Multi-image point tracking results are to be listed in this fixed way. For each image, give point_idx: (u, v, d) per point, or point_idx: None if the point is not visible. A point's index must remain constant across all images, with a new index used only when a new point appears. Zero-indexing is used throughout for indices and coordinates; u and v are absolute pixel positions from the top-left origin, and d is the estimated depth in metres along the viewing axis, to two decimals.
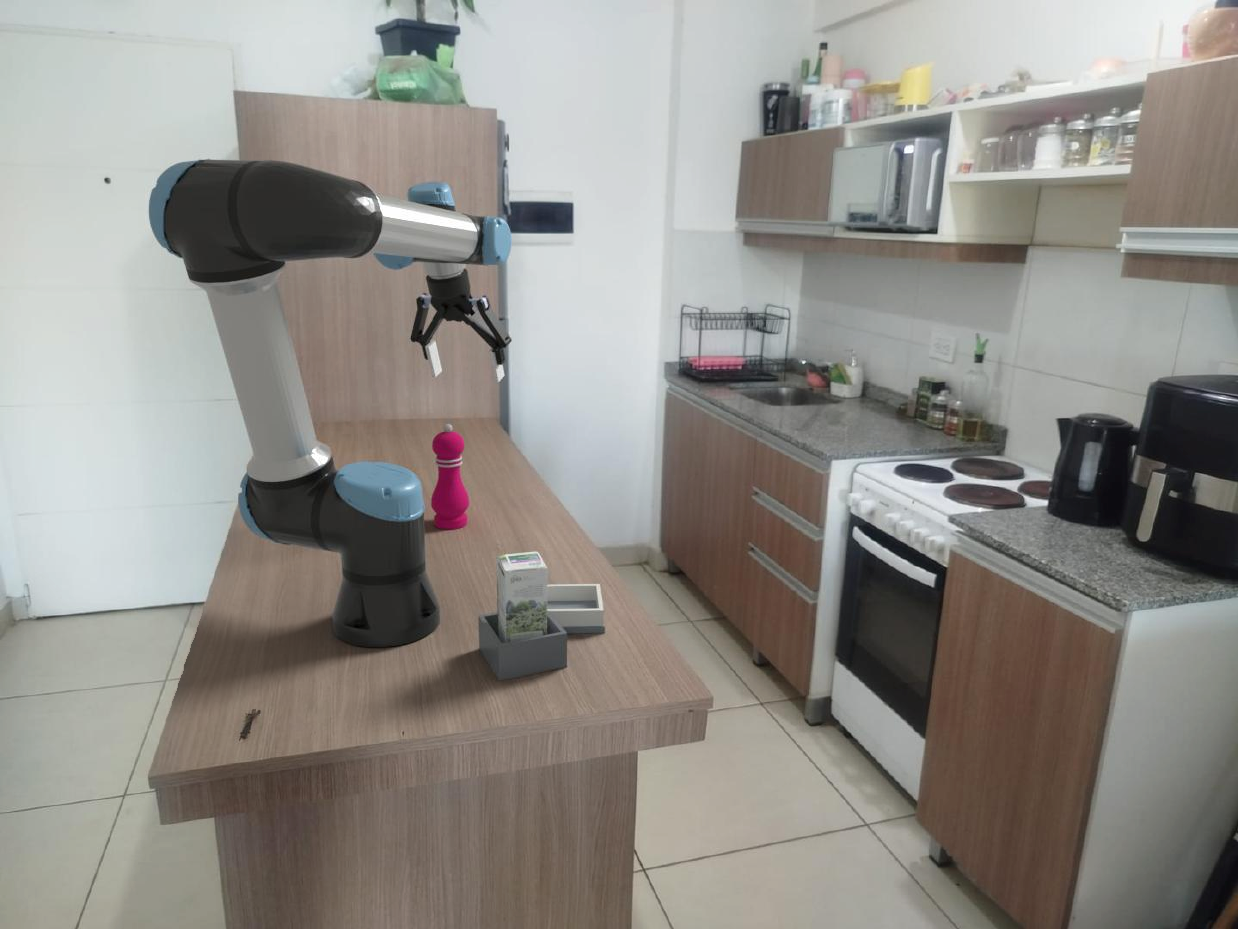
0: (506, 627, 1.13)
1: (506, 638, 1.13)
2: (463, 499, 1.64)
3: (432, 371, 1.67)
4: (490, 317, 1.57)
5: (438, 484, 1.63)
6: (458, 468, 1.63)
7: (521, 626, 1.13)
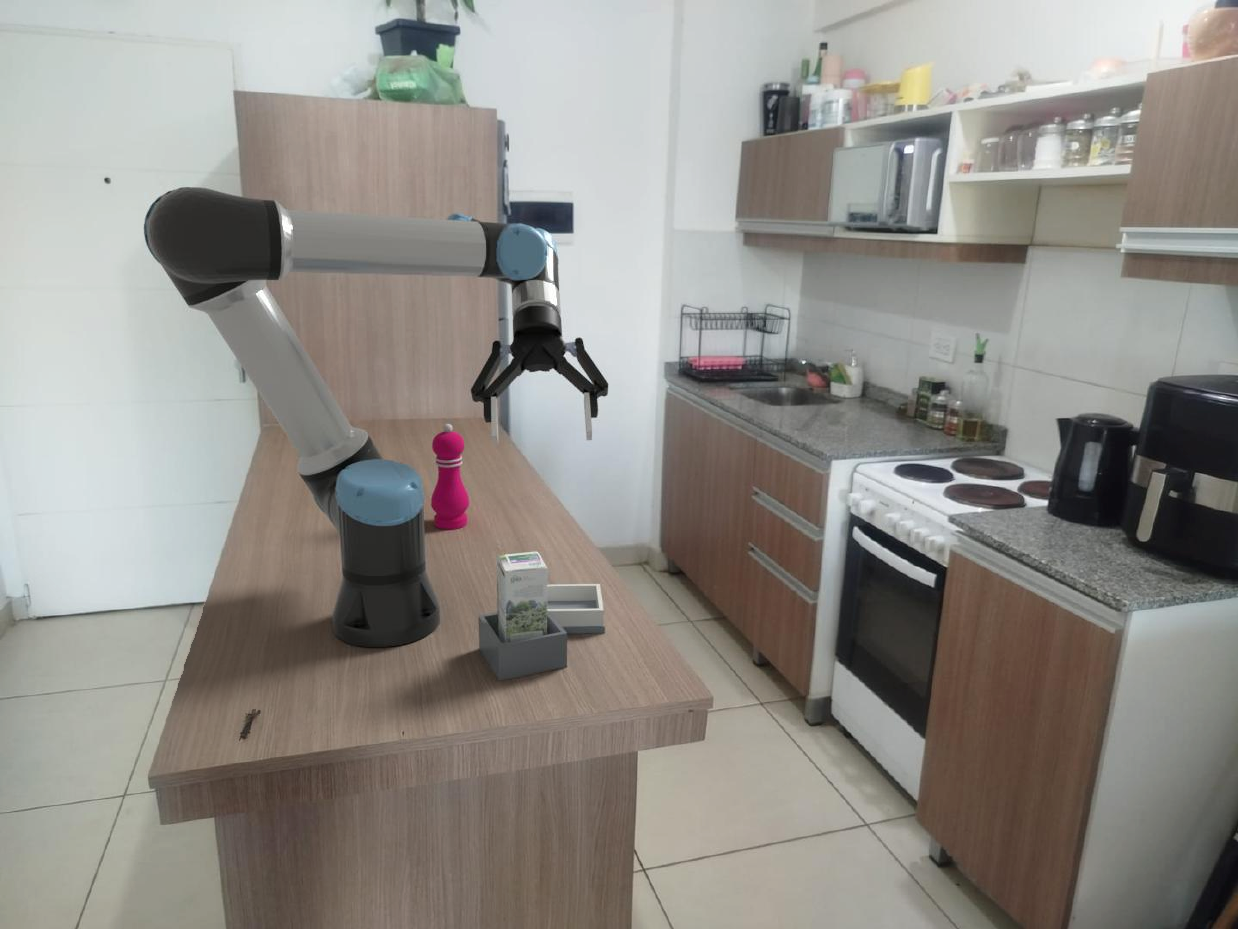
0: (506, 627, 1.13)
1: (506, 638, 1.13)
2: (463, 499, 1.64)
3: (494, 428, 1.23)
4: None
5: (438, 484, 1.63)
6: (458, 468, 1.63)
7: (521, 626, 1.13)
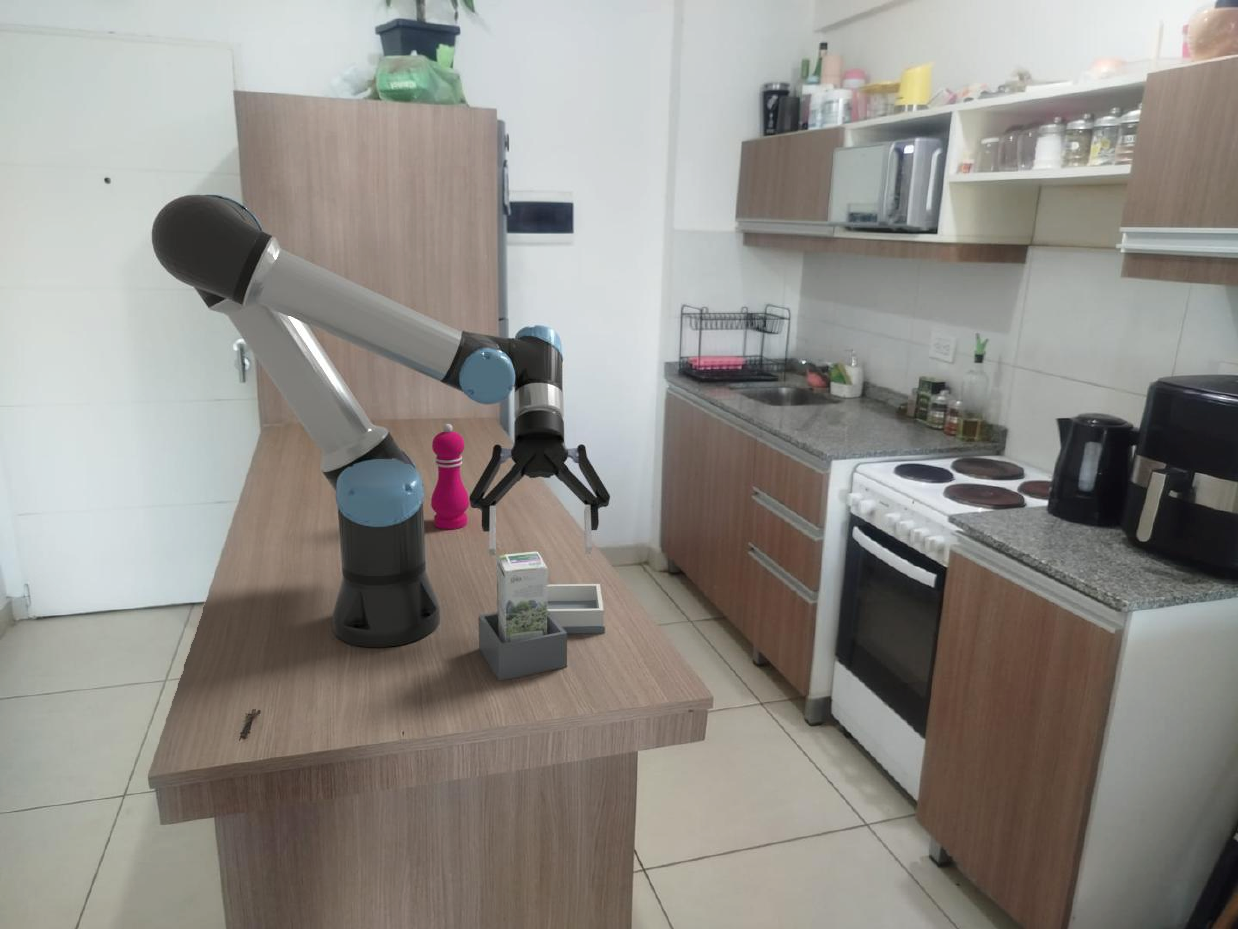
0: (506, 627, 1.13)
1: (506, 638, 1.13)
2: (463, 499, 1.64)
3: (491, 540, 1.21)
4: None
5: (438, 484, 1.63)
6: (458, 468, 1.63)
7: (521, 626, 1.13)
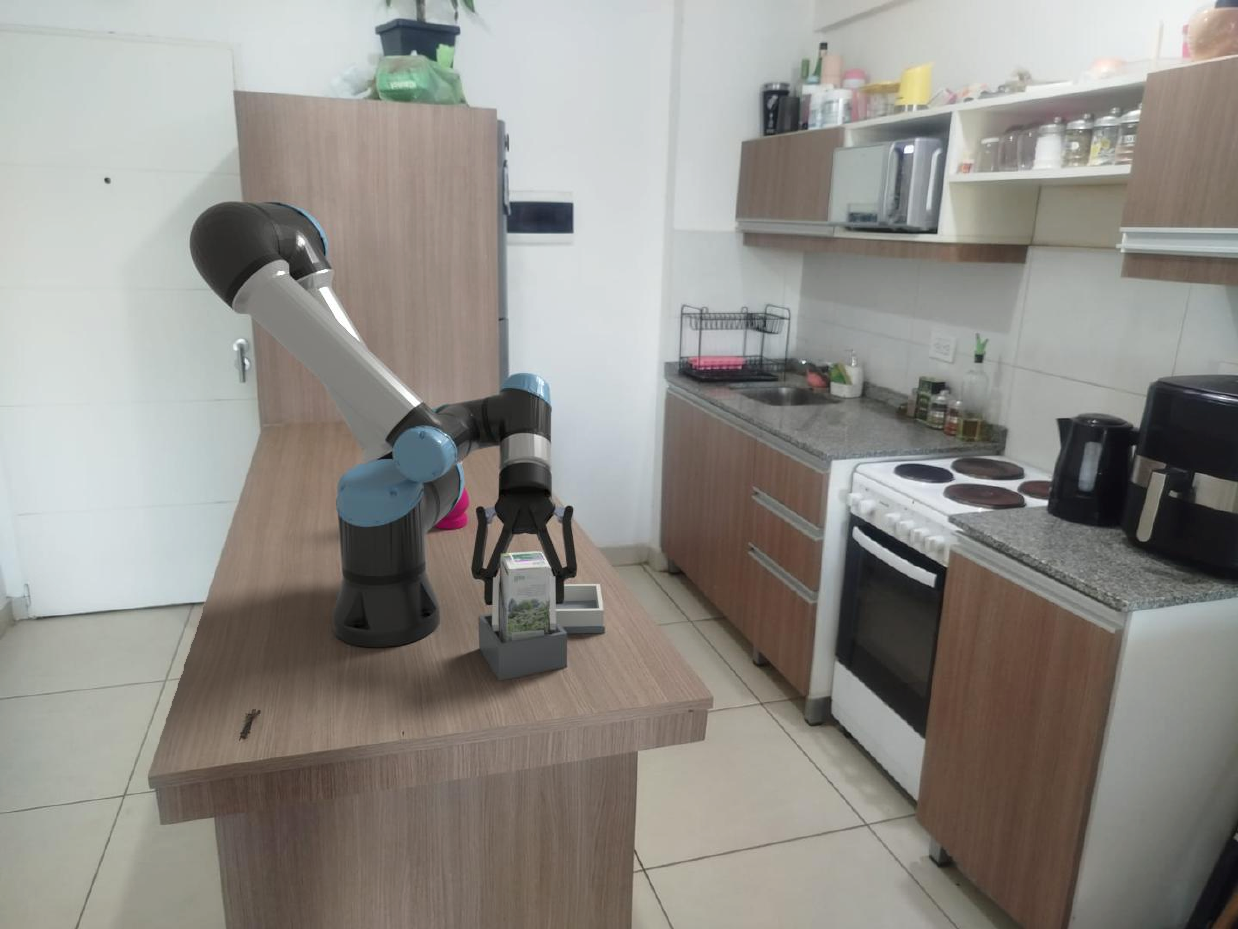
0: (508, 625, 1.13)
1: (507, 636, 1.13)
2: (463, 499, 1.64)
3: (494, 615, 1.12)
4: (571, 531, 1.19)
5: None
6: None
7: (523, 625, 1.13)
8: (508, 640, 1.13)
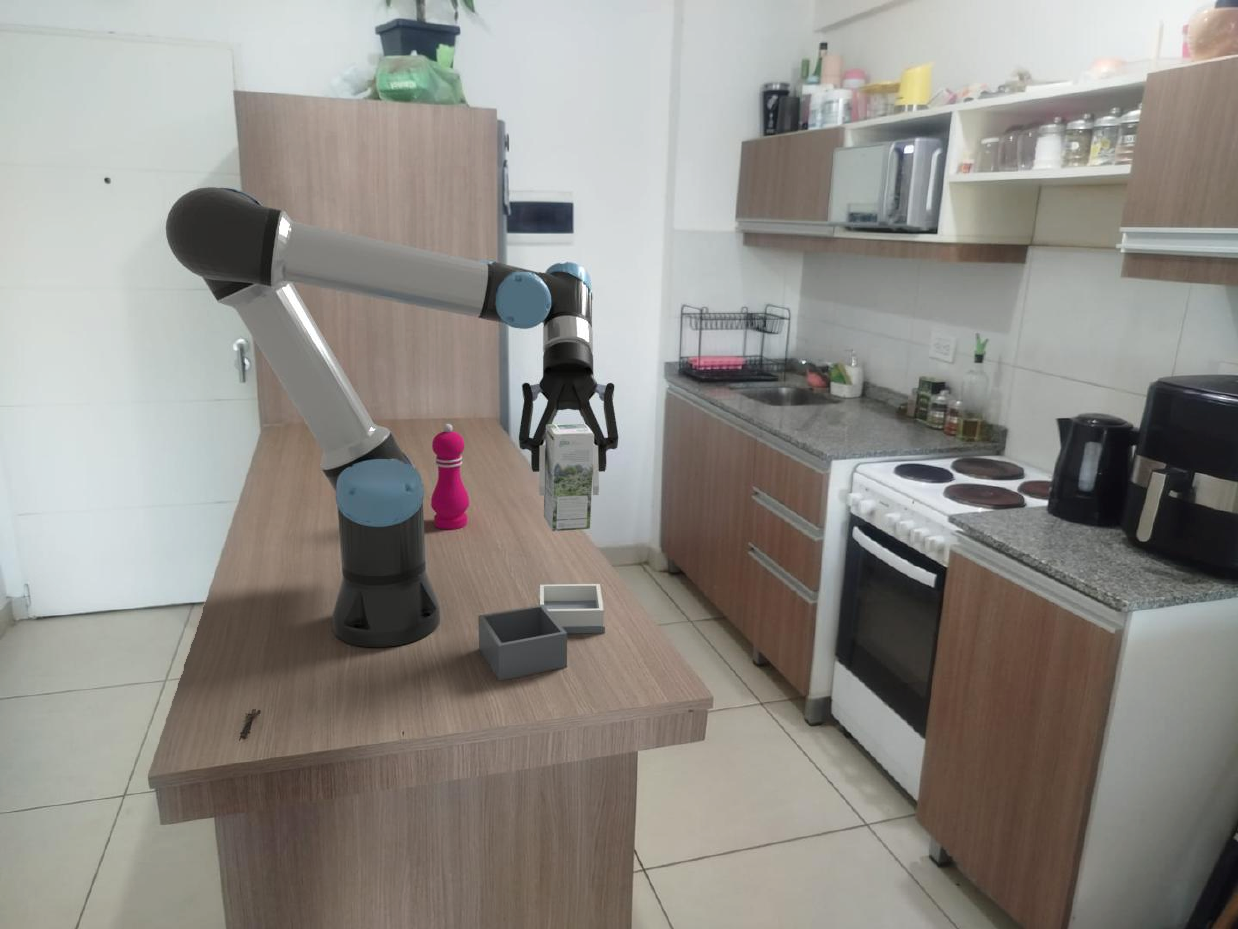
0: (554, 490, 1.19)
1: (553, 501, 1.20)
2: (463, 499, 1.64)
3: (541, 478, 1.18)
4: None
5: (438, 484, 1.63)
6: (458, 468, 1.63)
7: (568, 490, 1.20)
8: (554, 504, 1.20)
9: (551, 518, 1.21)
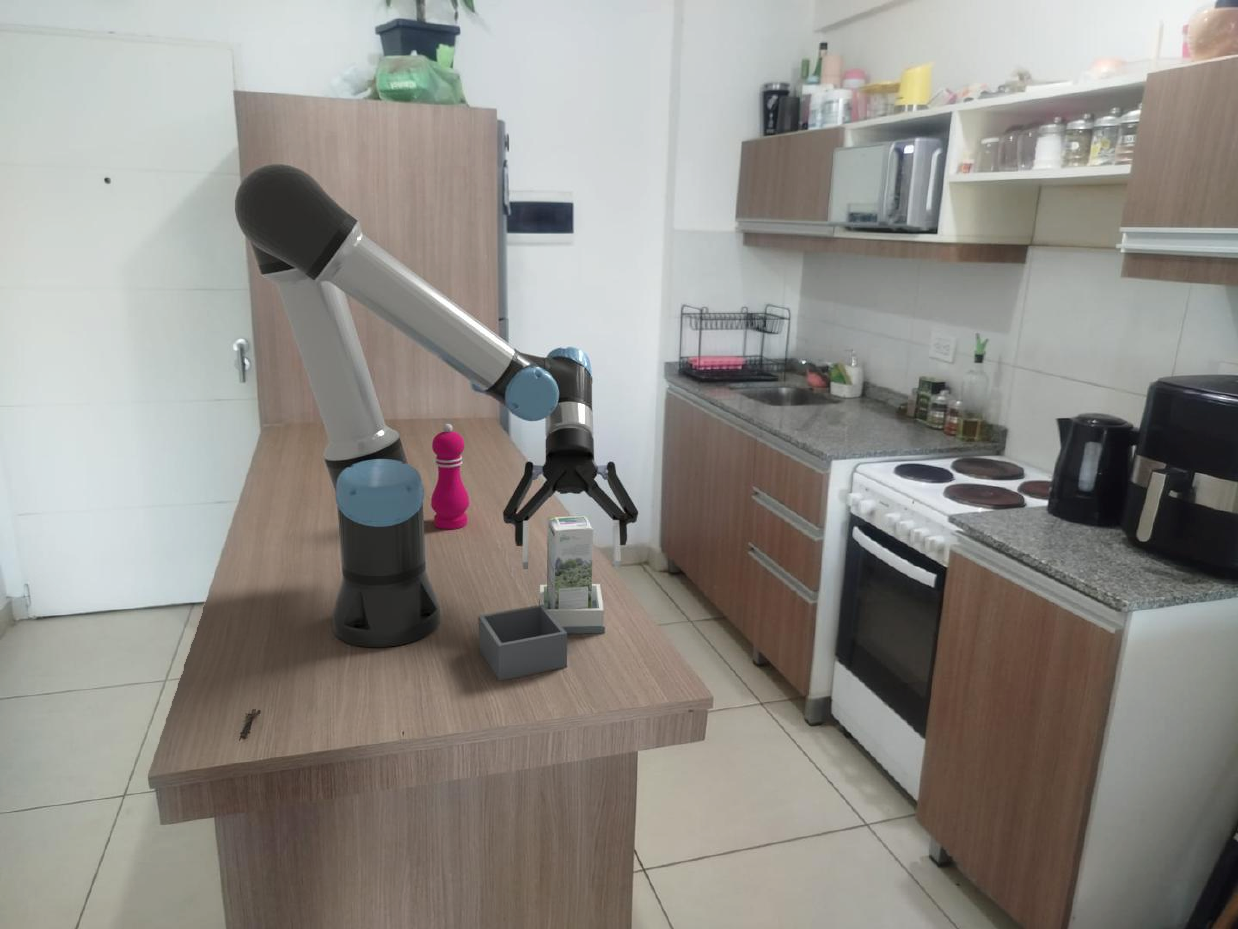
0: (555, 582, 1.24)
1: (555, 592, 1.25)
2: (463, 499, 1.64)
3: (525, 554, 1.23)
4: (620, 483, 1.31)
5: (438, 484, 1.63)
6: (458, 468, 1.63)
7: (569, 582, 1.25)
8: (556, 596, 1.25)
9: (553, 608, 1.26)
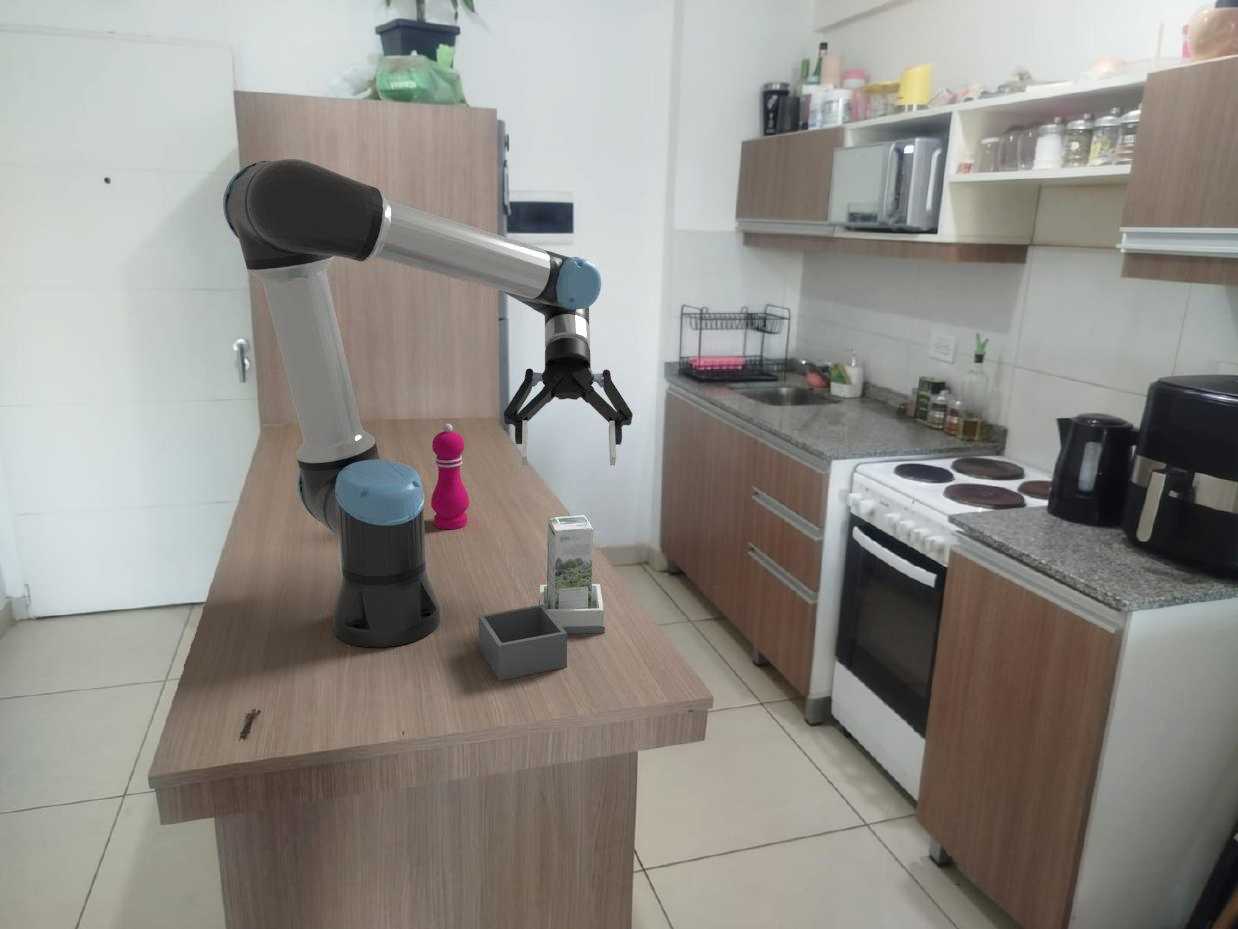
0: (555, 582, 1.24)
1: (555, 592, 1.25)
2: (463, 499, 1.64)
3: (524, 449, 1.32)
4: None
5: (438, 484, 1.63)
6: (458, 468, 1.63)
7: (569, 582, 1.25)
8: (556, 596, 1.25)
9: (553, 608, 1.26)
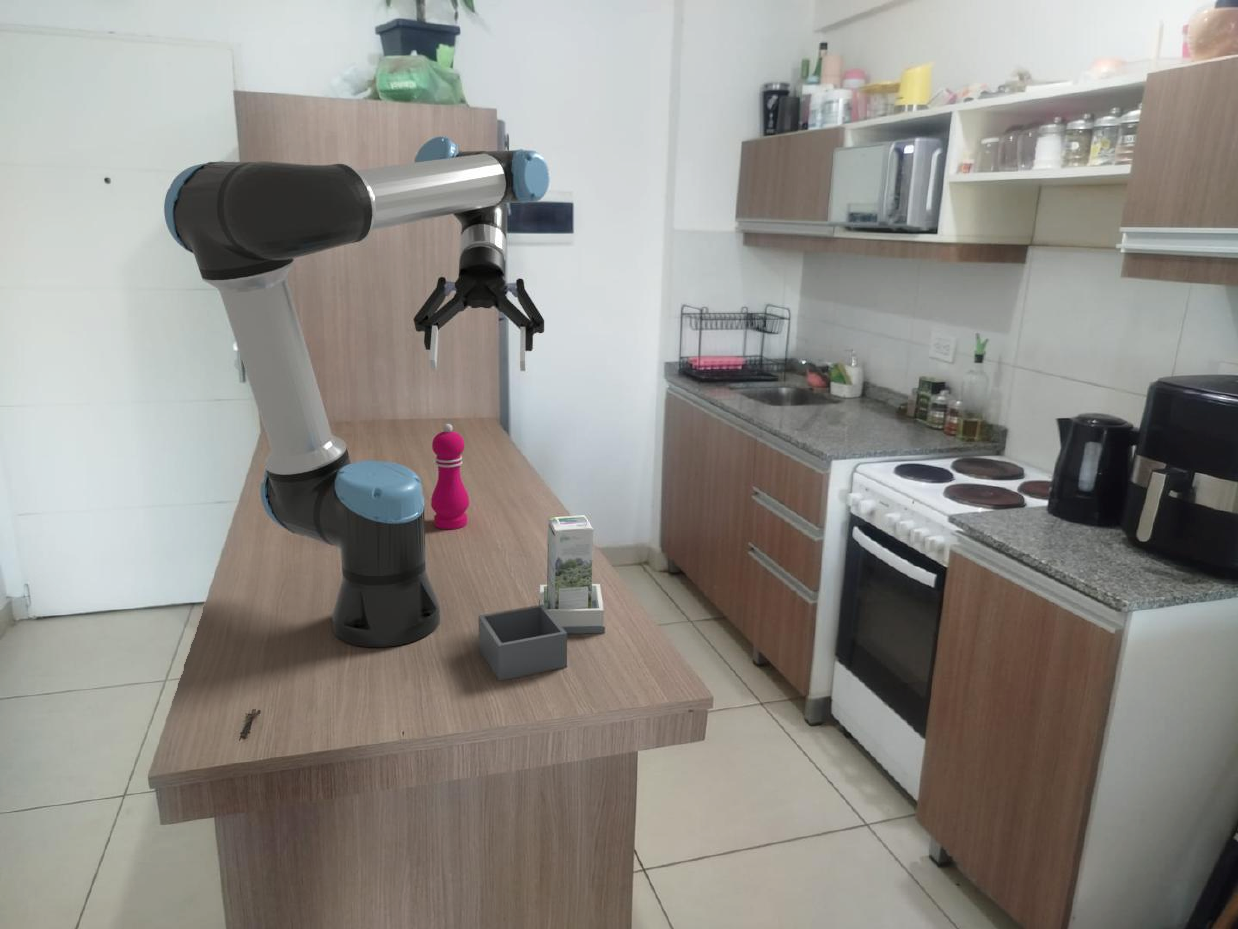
0: (555, 582, 1.24)
1: (555, 592, 1.25)
2: (463, 499, 1.64)
3: (432, 353, 1.31)
4: (528, 297, 1.38)
5: (438, 484, 1.63)
6: (458, 468, 1.63)
7: (569, 582, 1.25)
8: (556, 595, 1.25)
9: (553, 608, 1.26)
